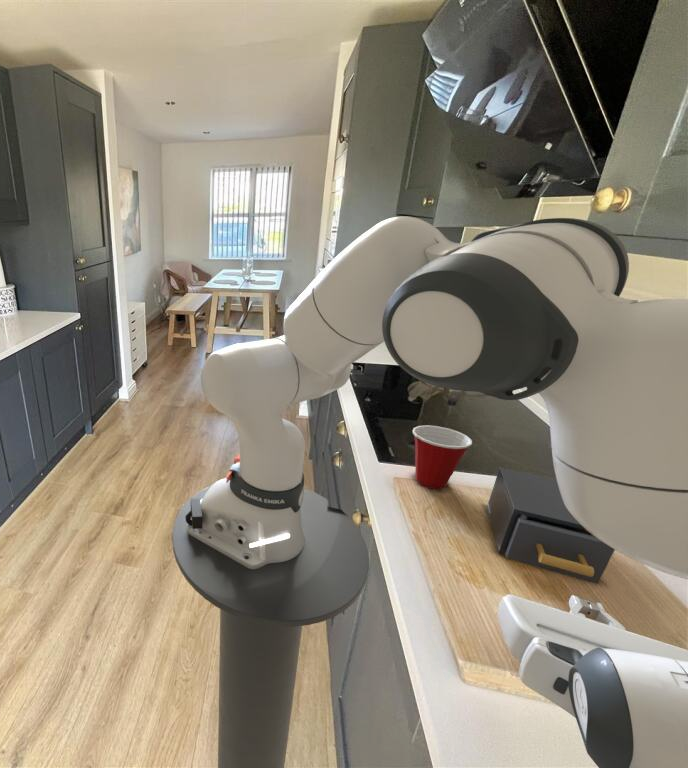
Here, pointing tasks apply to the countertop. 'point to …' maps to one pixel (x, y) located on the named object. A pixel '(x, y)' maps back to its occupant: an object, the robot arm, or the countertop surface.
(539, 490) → the cabinet
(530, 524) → the drawer
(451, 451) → the plastic cup
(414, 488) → the countertop surface
